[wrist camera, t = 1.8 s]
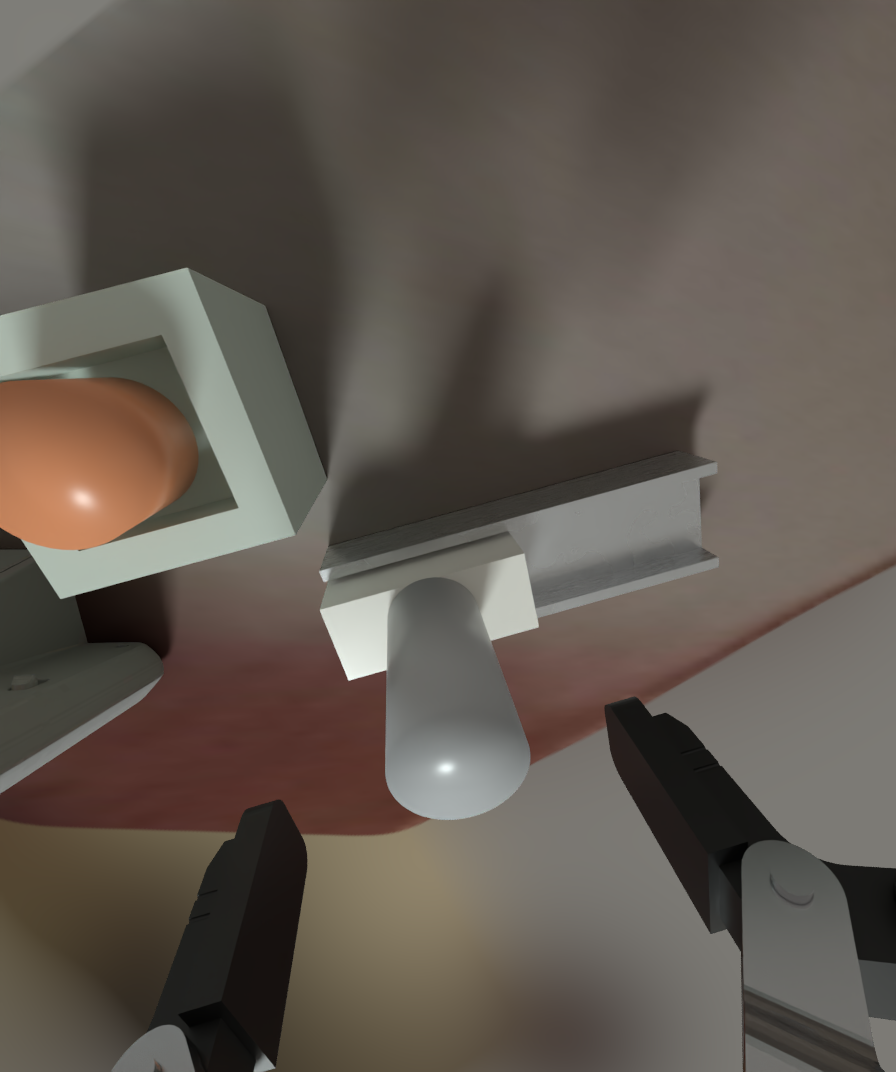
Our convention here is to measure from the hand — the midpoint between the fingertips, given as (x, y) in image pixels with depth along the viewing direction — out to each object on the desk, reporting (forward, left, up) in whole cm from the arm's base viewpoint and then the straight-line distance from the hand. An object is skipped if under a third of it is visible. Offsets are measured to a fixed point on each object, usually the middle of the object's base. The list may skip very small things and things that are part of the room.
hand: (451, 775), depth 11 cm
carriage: (0, 0, -10) cm, 10 cm away
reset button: (+6, -9, -5) cm, 12 cm away
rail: (-5, 0, -12) cm, 13 cm away
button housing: (+6, -9, -12) cm, 16 cm away
